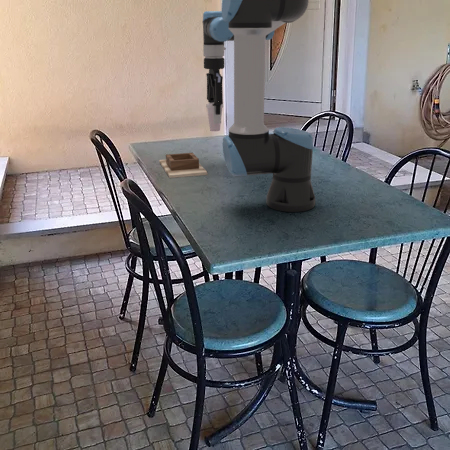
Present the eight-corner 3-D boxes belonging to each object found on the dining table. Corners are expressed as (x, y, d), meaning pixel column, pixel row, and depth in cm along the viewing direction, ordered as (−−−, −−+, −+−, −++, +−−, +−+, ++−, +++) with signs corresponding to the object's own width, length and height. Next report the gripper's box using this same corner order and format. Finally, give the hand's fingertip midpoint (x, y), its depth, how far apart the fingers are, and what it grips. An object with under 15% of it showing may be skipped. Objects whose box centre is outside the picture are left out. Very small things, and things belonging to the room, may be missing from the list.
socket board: (207, 174, 194) (207, 162, 192) (169, 178, 190) (169, 165, 188) (193, 159, 213) (193, 148, 211) (159, 162, 210) (158, 151, 208)
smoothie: (224, 128, 202) (224, 91, 197) (222, 132, 196) (222, 93, 191) (207, 128, 203) (207, 91, 198) (205, 131, 197) (204, 93, 192)
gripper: (231, 58, 182) (231, 125, 191) (217, 55, 199) (217, 116, 208) (210, 59, 180) (211, 126, 189) (197, 55, 197) (199, 117, 206)
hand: (214, 121), depth 198 cm, fingers closed on smoothie, 6 cm apart
